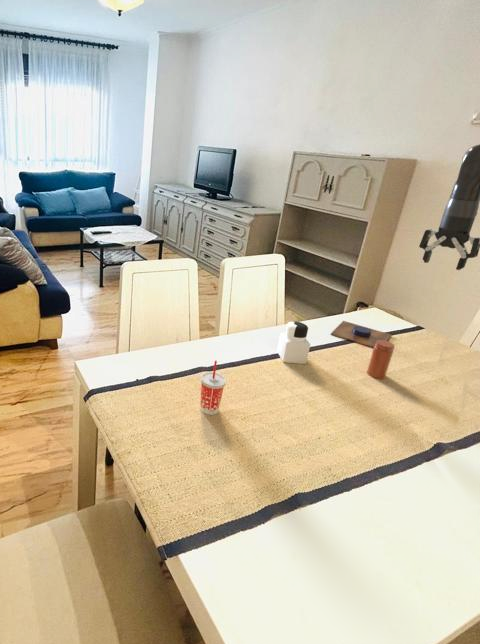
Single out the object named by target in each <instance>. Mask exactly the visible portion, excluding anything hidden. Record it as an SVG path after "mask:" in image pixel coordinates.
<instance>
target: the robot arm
mask: <svg viewBox="0 0 480 644" xmlns="http://www.w3.org/2000/svg"><path fill="white" fill-rule="evenodd" d="M450 193H451V194H450V195H449V198H448V201H447V203H446V205H445V208H444V211H443V214H442V217H441V220H440V223H439V226H438V229H437V230H433V229H431V228H430V229H426V230H424V233H423V235H422V238H421V240H420V242H419V245H418V247H419V248H420V249H422V250H424V253H423V256H422V261H423V263H426V264H428V263H429V262H430V260H431V257H432V254H433V250H434V249H436V248H437V247H439V246H440V247H442V248H449V249H456V251H457V252H458V253H459V255H460V257H459V259H458V262H457V265H456V268H455V270H456V271H461V270H462V269H464V268H465V267H466V264H467V261H468V259H474V258H477V257H478V256H479V255H478V254H479V252H480V236H479V237H474V236H471V235H470V233H471V230H472V227H473V225H474V223H475V220H476V217H477V215H478V211H479V207H480V144H479V143H478V144H476V145H473V146H471V147H469V148H468V149H467V150H466V151H465V152H464V153H463V155H462V158H461V165H460V168H459V172H458V176H457V178H456V180H455V182H454V184H453V186H452V190H451V192H450ZM434 236H435V239H436V240H435V241H434V242H432V243H430V244H429V241H430V239H431V238H432V237H434ZM467 242H469V243H470V245H471V248H470V252H468V250H467V246H466V245H465V244H466V243H467ZM428 244H429V245H428Z"/></svg>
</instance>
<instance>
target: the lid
mask: <svg viewBox="0 0 480 644" xmlns="http://www.w3.org/2000/svg"><path fill="white" fill-rule="evenodd" d="M362 326H363V325H360V326H354V327H353V330H352V333H353V334H355V335H357V336H360V337H370V335H371V330H370V329H371V328H370V329H368V328H369V327H367V328H366V326H363V327H362Z"/></svg>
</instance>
